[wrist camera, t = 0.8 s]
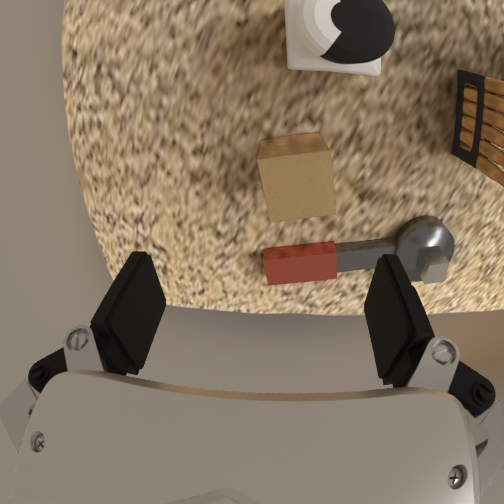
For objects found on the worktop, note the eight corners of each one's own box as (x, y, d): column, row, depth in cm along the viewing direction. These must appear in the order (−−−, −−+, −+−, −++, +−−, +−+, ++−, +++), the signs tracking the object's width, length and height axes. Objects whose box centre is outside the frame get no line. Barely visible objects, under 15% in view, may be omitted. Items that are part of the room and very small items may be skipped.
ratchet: (451, 213, 29) (473, 239, 24) (440, 265, 34) (455, 294, 30) (260, 233, 34) (256, 265, 30) (272, 285, 40) (269, 318, 35)
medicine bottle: (356, 13, 17) (403, -16, 8) (358, 74, 22) (407, 81, 12) (284, 7, 18) (285, -34, 9) (287, 69, 22) (292, 67, 13)
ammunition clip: (457, 69, 18) (529, 85, 9) (469, 73, 18) (540, 92, 8) (451, 154, 25) (511, 201, 15) (462, 155, 24) (522, 203, 15)
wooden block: (319, 132, 26) (330, 150, 20) (325, 183, 29) (335, 214, 24) (262, 139, 27) (256, 160, 22) (272, 190, 31) (270, 222, 25)
